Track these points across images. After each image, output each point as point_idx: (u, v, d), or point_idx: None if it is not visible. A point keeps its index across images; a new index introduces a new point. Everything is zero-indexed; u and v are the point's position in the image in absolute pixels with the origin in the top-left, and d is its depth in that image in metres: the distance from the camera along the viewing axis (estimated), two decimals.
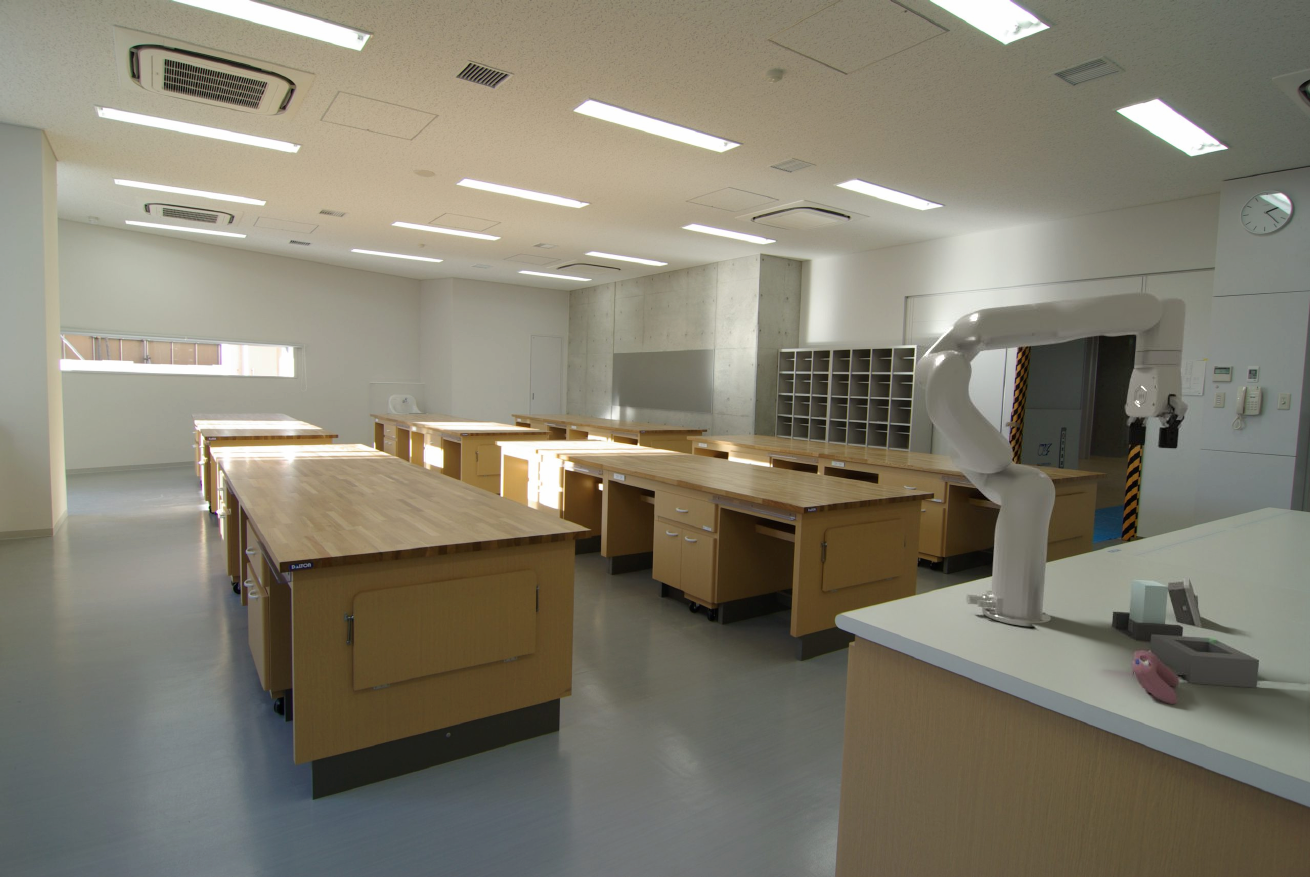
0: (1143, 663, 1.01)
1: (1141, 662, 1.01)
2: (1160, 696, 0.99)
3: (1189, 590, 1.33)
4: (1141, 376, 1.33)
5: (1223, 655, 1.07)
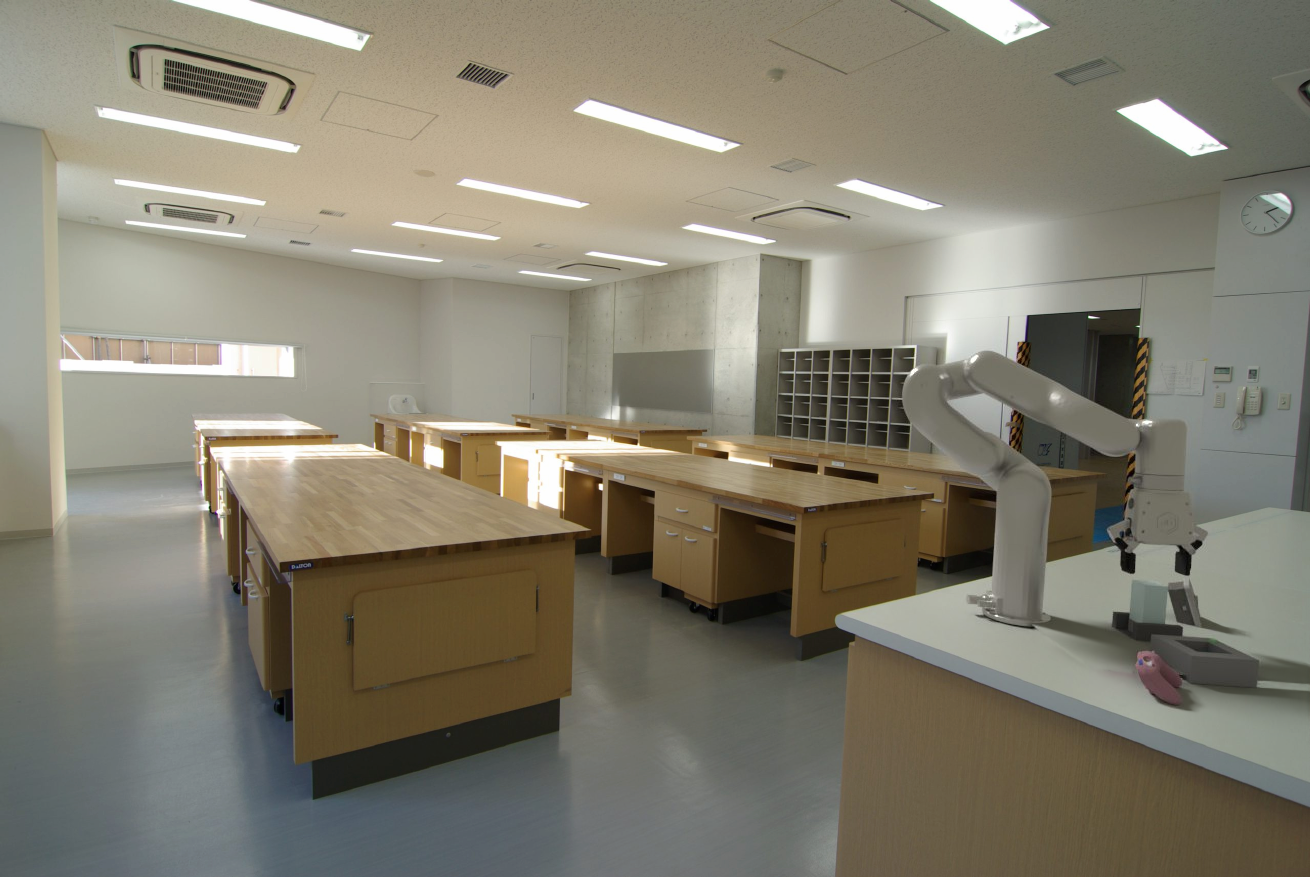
0: (1147, 664, 1.01)
1: (1145, 663, 1.01)
2: (1164, 696, 0.99)
3: (1189, 590, 1.33)
4: (1168, 501, 1.22)
5: (1223, 655, 1.07)
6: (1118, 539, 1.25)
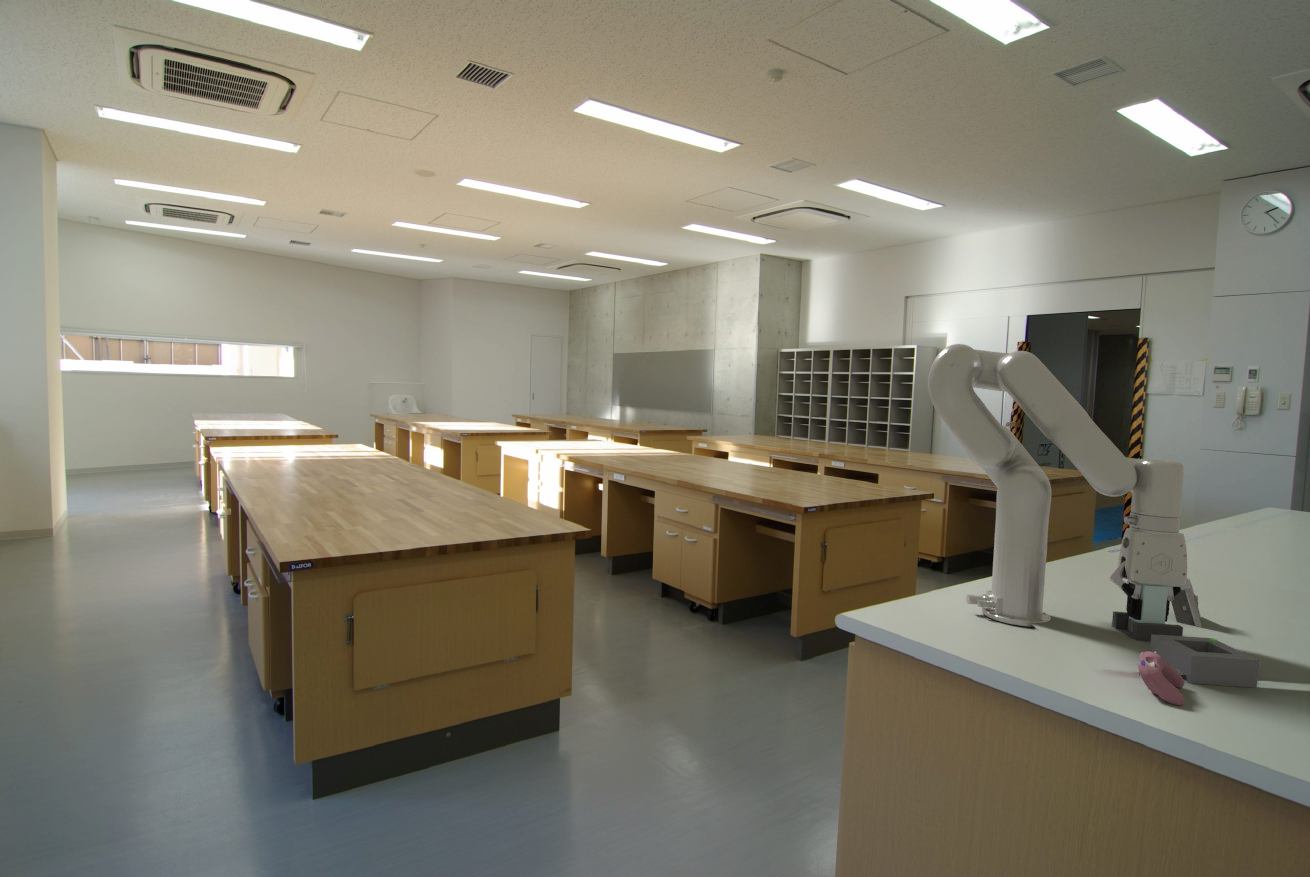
0: (1149, 664, 1.01)
1: (1147, 663, 1.01)
2: (1167, 697, 0.98)
3: (1189, 590, 1.33)
4: (1162, 542, 1.23)
5: (1223, 655, 1.07)
6: (1125, 585, 1.26)
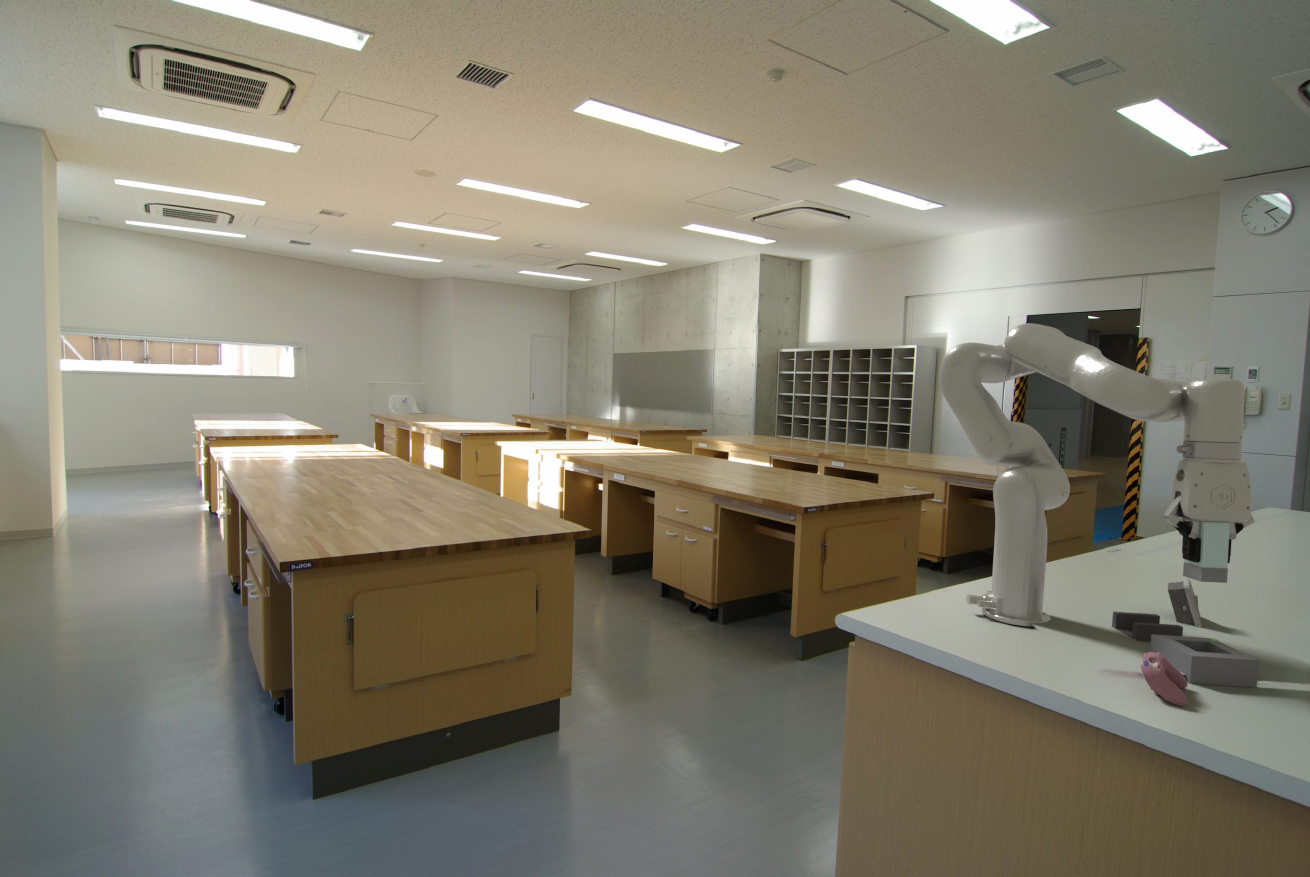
0: (1152, 665, 1.01)
1: (1150, 664, 1.01)
2: (1170, 698, 0.98)
3: (1189, 590, 1.33)
4: (1223, 472, 1.08)
5: (1223, 655, 1.07)
6: (1181, 523, 1.11)
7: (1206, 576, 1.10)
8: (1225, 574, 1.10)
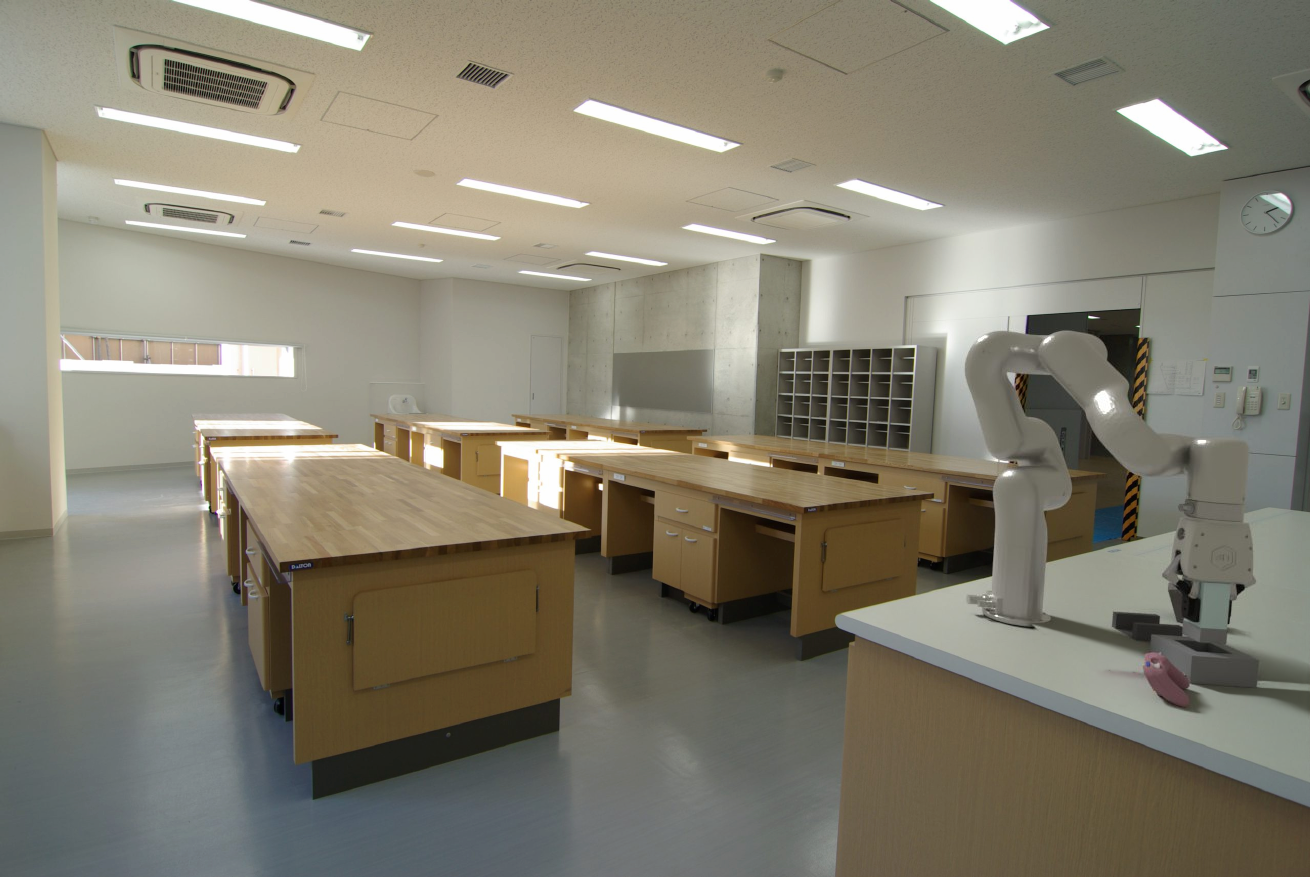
0: (1154, 666, 1.00)
1: (1152, 664, 1.01)
2: (1172, 698, 0.98)
3: None
4: (1225, 533, 1.07)
5: (1223, 655, 1.07)
6: (1181, 582, 1.10)
7: (1205, 636, 1.09)
8: (1224, 635, 1.08)
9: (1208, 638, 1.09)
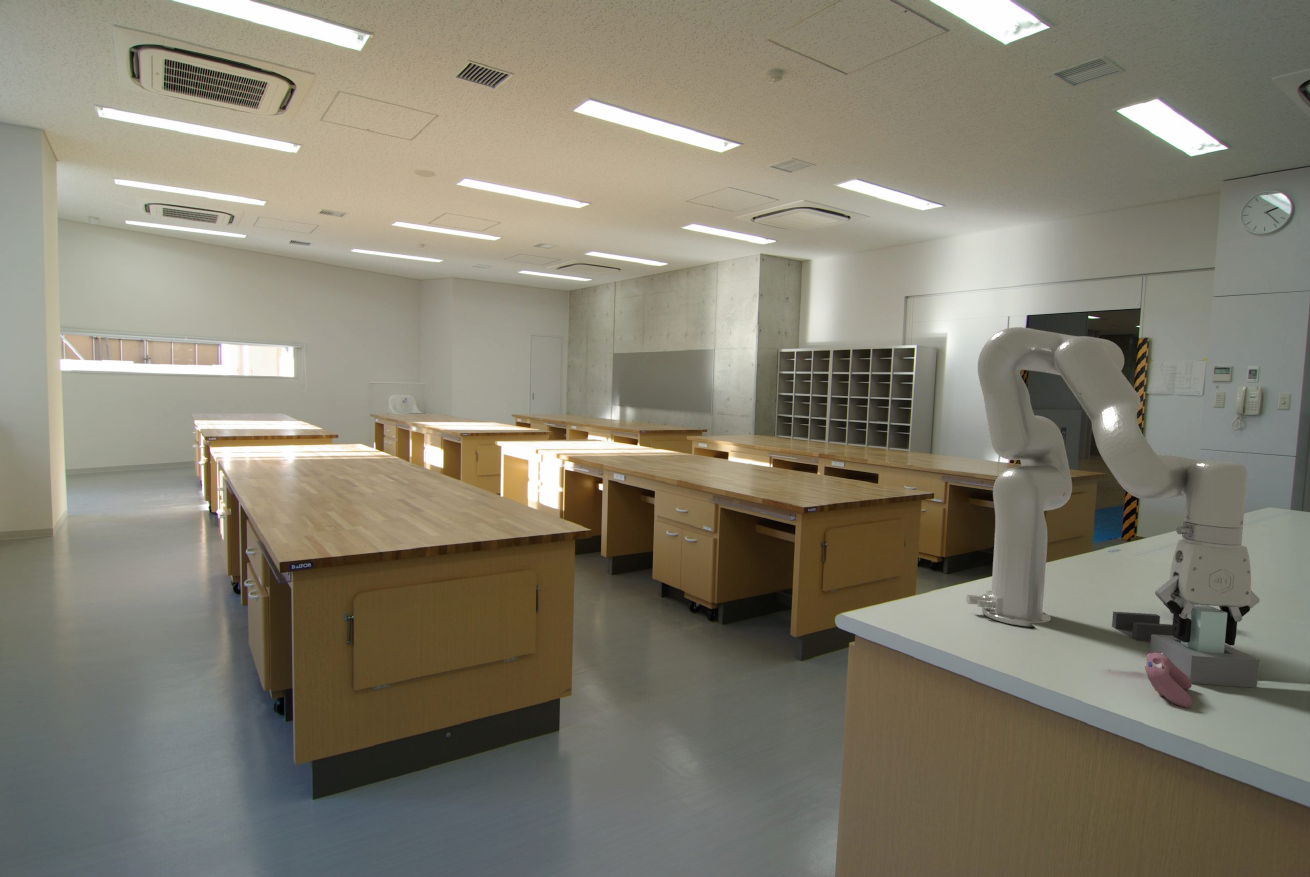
0: (1156, 666, 1.00)
1: (1154, 665, 1.00)
2: (1174, 699, 0.98)
3: None
4: (1223, 557, 1.07)
5: (1223, 655, 1.07)
6: (1172, 602, 1.10)
7: None
8: None
9: None
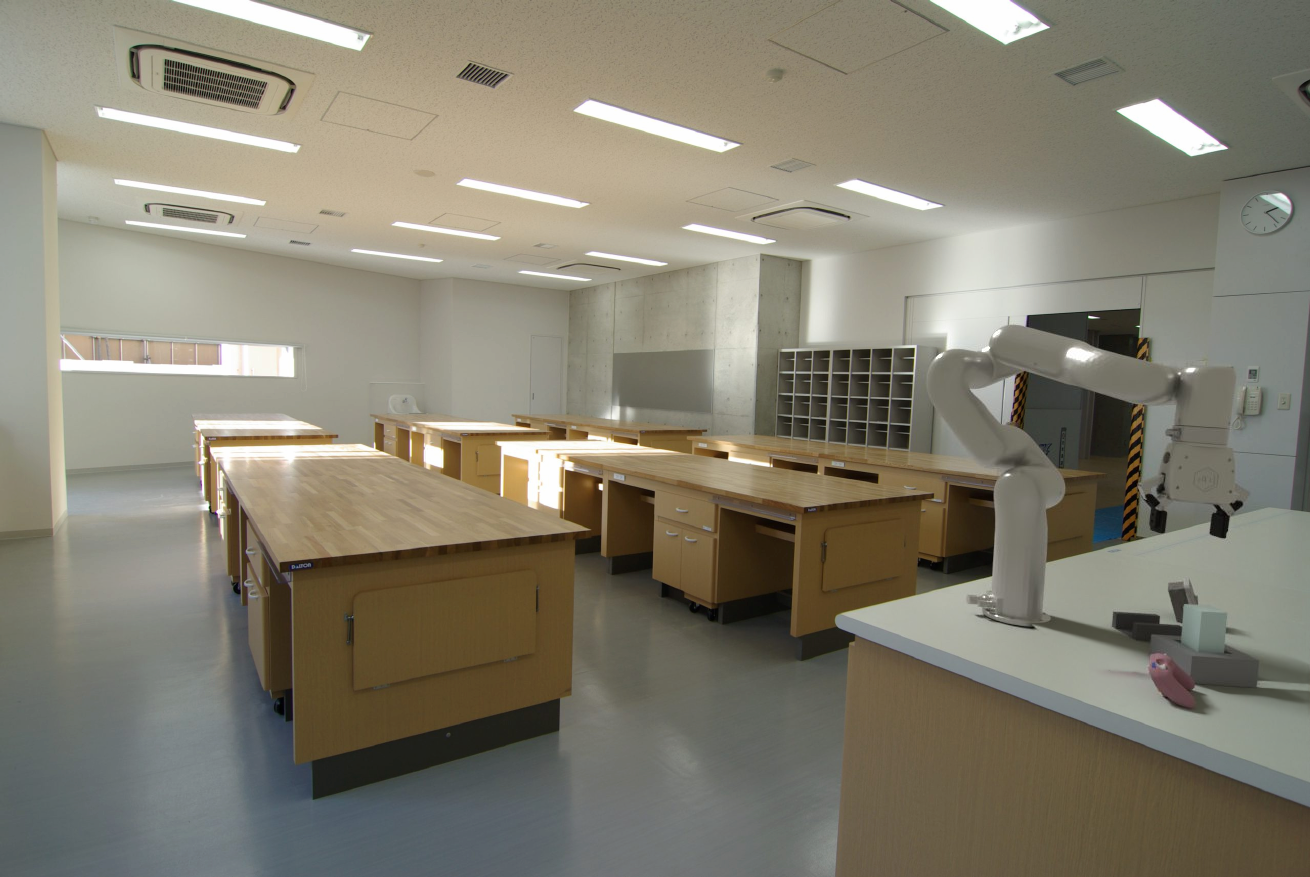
0: (1160, 667, 1.00)
1: (1158, 666, 1.00)
2: (1178, 700, 0.98)
3: (1189, 590, 1.33)
4: (1208, 456, 1.12)
5: (1223, 655, 1.07)
6: (1149, 495, 1.16)
7: None
8: None
9: None
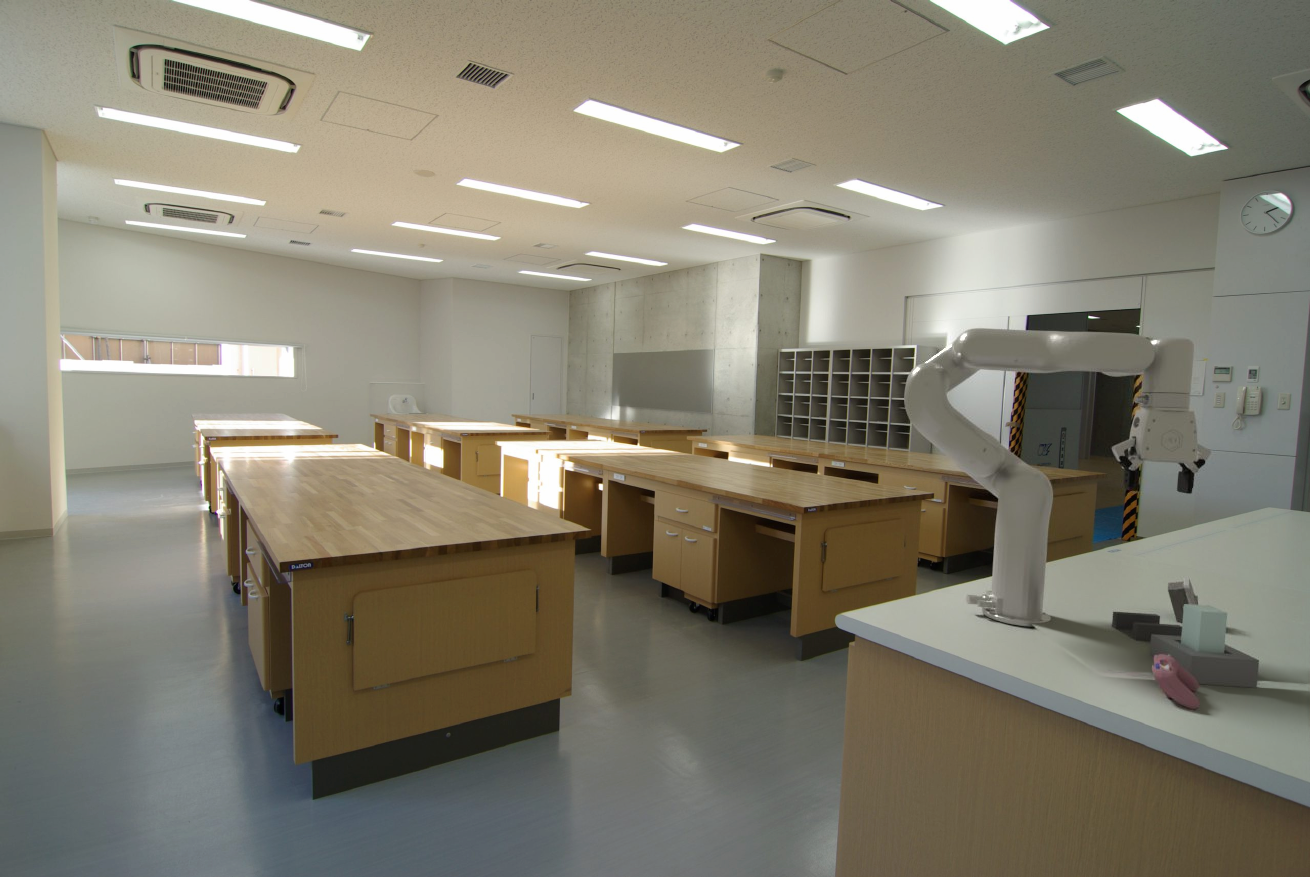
0: (1164, 668, 1.00)
1: (1161, 666, 1.00)
2: (1182, 701, 0.97)
3: (1189, 590, 1.33)
4: (1173, 419, 1.25)
5: (1223, 655, 1.07)
6: (1122, 457, 1.28)
7: None
8: None
9: None
